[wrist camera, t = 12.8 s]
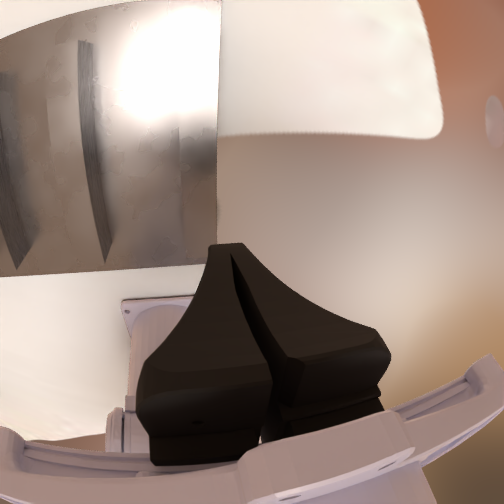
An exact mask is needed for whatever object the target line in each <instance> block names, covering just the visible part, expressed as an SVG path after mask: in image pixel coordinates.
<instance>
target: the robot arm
mask: <svg viewBox="0 0 504 504" xmlns="http://www.w3.org/2000/svg"><path fill="white" fill-rule="evenodd" d="M121 310H122V313H123V316H124V319H125V322H126V325H127V328H128V331H129V334H130V337H131V351H130V363H129V377H128V395H126V398H125V412H123V408H118V407H116V408H115V409H114V411H112V412H111V413H109V414H108V417H107V424H106V443H105V444H106V445H105V446H106V448H105V449H106V452H103V451H90V450H80V449H72V448H65V447H57V446H52V445H46V444H41V443H35V442H30V441H26V440H24V439H23V438H22V437H21V436H20V435H19V434H18V433H16V432H15V431H13V430H11V429H9V428H6V427H2V426H0V498H2V499H4V500H7V501H9V502H11V503H13V504H437V503H436V500H435V498H434V496H433V493H432V491H431V489H430V486H429V484H428V482H427V480H426V478H425V476H424V473H423V471H422V469H421V468H422V467H423V466H425V465H427V464H429V463H430V462H432V461H434V460H435V459H437V458H439V457H440V456H442V455H444V454H445V453H447V452H448V451H450V450H451V449H453V448H454V447H456V446H457V445H459V444H460V443H462V442H463V441H465V440H466V439H468V438H469V437H470V436H472V435H473V434H475V433H476V432H477V431H479V430H480V429H481V428H483V427H484V426H485V425H487V424H488V423H489V422H490V421H491V420H492V419H494V418H495V417H496V416H497V415H498V414H499V413H500V412H501V411H502V410H503V409H504V371H503V369H502V368H501V367H500V365H499V364H498V362H497V361H496V360H495V359H494V357H493V356H492V354H491V353H489V354H487V355H485V356H484V357H482V358H480V359H478V360H477V361H475V362H474V363H473V364H472V365H471V366H470V367H469V368H468V369H467V371H466V372H465V374H464V375H463V376H461V377H459V378H457V379H455V380H453V381H451V382H449V383H447V384H445V385H443V386H441V387H439V388H437V389H435V390H432V391H430V392H428V393H426V394H424V395H421V396H419V397H417V398H415V399H412V400H410V401H407V402H405V403H403V404H400V405H398V406H395V407H392V408H390V409H387V410H384V408H383V406H382V404H381V402H380V400H379V398H378V397H380V396H381V391H380V390H379V388H378V386H377V384H378V382H379V381H380V379H381V378H382V376H383V375H384V373H385V371H386V370H387V368H388V366H389V364H390V361H391V353H390V351H389V349H388V348H387V346H386V344H385V342H384V341H383V339H382V338H381V336H380V335H379V333H378V332H377V331H376V330H375V329H374V328H371V327H368V326H364V325H362V324H359V323H355V322H353V321H350V320H347V319H345V318H343V317H340V316H338V315H336V314H333V313H331V312H329V311H327V310H325V309H323V308H321V307H320V306H318V305H316V304H314V303H312V302H311V301H309V300H307V299H305V298H304V297H302V296H301V295H299V294H298V293H297V292H295V291H293V290H292V289H291V288H289V287H288V286H287V285H285V284H284V283H283V282H282V281H280V280H279V279H278V278H277V277H276V276H274V275H273V274H272V273H271V272H270V271H269V270H268V269H267V268H266V267H265V266H264V265H263V264H262V263H261V262H260V261H259V260H258V259H257V258H256V257H255V256H254V255H253V254H252V253H251V252H250V251H249V249H248V248H247V247H246V246H245V245H244V244H243V243H231V244H215V245H210V246H209V247H208V258H207V262H206V266H205V269H204V272H203V276H202V278H201V281H200V283H199V286H198V288H197V290H196V293H195V295H194V296H189V297H175V298H161V299H145V300H127V301H123V302H122V303H121ZM127 310H129V311H127ZM260 436H261V441H262V443H261V444H258V443H259V438H260Z"/></svg>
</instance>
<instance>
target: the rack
mask: <svg viewBox="0 0 504 504" xmlns="http://www.w3.org/2000/svg"><path fill="white" fill-rule="evenodd" d="M221 6H222V0H141V1H134V2H127V3H120V4H115V5H109V6H104V7H99V8H94V9H90V10H85V11H81V12H77V13H74V14H70V15H66V16H63V17H59V18H56V19H53V20H50V21H46V22H43V23H40V24H38V25H35V26H32V27H29V28H27V29H24V30H21V31H19V32H16V33H14V34H11V35H9V36H7V37H4V38H2V39H0V277H12V276H29V275H46V274H62V273H78V272H93V271H108V270H123V269H138V268H152V267H167V266H181V265H194V264H206V262H207V258H208V247H209V246H210V245H215V244H217V199H216V174H217V173H216V171H217V169H216V167H217V166H216V163H217V104H218V72H219V47H220V27H221V24H220V23H221Z"/></svg>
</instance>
